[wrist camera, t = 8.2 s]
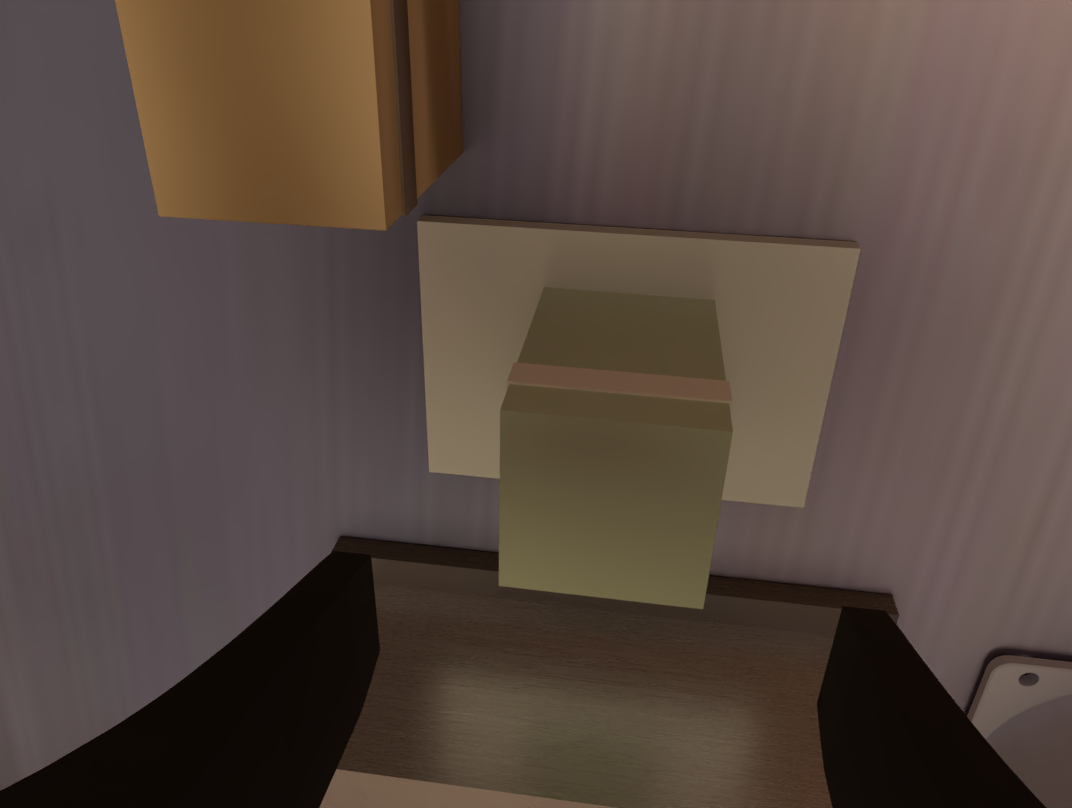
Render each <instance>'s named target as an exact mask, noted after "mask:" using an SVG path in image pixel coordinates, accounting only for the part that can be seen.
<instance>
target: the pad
mask: <svg viewBox="0 0 1072 808" xmlns="http://www.w3.org/2000/svg"><path fill="white" fill-rule="evenodd" d="M417 232H418V253H419V273H420V294H421V314H422V334H423V355H424V375H425V395H426V416H427V436H428V457H429V472H436V473H446V474H457V475H467V476H478V477H488V478H499V479H500V409H501V406H502V403H503V401H504V398H505V395H506V392H507V379H508V377H509V374H510V371H511V368H512V366H513V363H514V362H516V363H517V361H518V358H519V356H520V353H521V350H522V347H523V344H524V342H525V339H526V336H527V333H528V330H529V328H530V325H531V322H532V319H533V316H534V314H535V311H536V308H537V305H538V302H539V300H540V297H541V294H542V291H543V288H544V287H548V288H561V289H574V290H587V291H600V292H614V293H627V294H640V295H653V296H666V297H679V298H692V299H705V300H715V305H716V312H717V320H718V327H719V334H720V341H721V348H722V356H723V363H724V370H725V377H726V381H729V382H730V389H731V396H732V406H731V412H730V414H731V421H732V428H733V435H732V441H731V447H730V453H729V459H728V464H727V470H726V476H725V482H724V488H723V494H722V500H728V501H739V502H749V503H759V504H770V505H780V506H791V507H801V508H804V504H805V500H806V495H807V491H808V486H809V482H810V477H811V473H812V468H813V463H814V459H815V454H816V450H817V445H818V441H819V436H820V432H821V427H822V423H823V418H824V413H825V409H826V404H827V400H828V395H829V391H830V386H831V382H832V377H833V372H834V368H835V363H836V359H837V354H838V350H839V345H840V341H841V336H842V332H843V327H844V322H845V318H846V313H847V309H848V304H849V300H850V295H851V291H852V286H853V282H854V277H855V272H856V268H857V263H858V259H859V254H860V250H861V249H860V247H859V245H858V244H857V242H852V241H835V240H819V239H803V238H787V237H770V236H754V235H738V234H722V233H706V232H689V231H673V230H657V229H641V228H624V227H608V226H592V225H576V224H559V223H543V222H527V221H511V220H495V219H478V218H462V217H446V216H430V215H422V216H421V217H420V218H419V219H418V220H417Z"/></svg>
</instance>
